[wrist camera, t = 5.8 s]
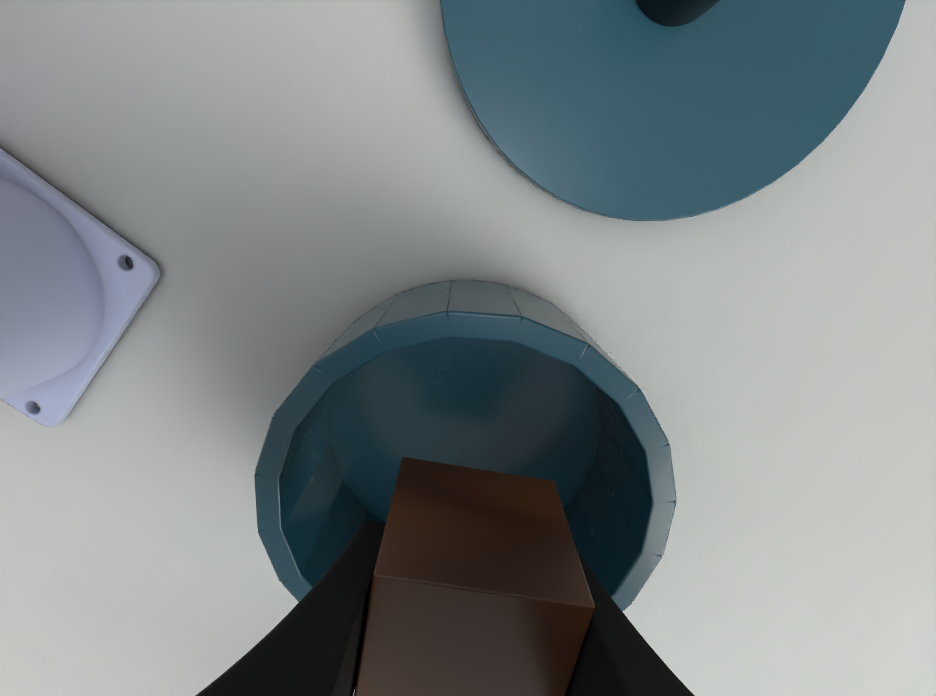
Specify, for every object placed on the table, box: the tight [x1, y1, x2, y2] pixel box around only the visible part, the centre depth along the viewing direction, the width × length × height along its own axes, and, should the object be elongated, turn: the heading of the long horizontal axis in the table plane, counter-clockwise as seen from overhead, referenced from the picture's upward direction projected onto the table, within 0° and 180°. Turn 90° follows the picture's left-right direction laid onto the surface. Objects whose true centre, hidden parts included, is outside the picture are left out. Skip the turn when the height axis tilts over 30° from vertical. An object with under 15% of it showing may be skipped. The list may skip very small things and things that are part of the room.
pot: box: [254, 280, 676, 611], centre depth 16 cm, size 12×12×5 cm
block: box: [354, 457, 595, 696], centre depth 11 cm, size 4×4×4 cm
